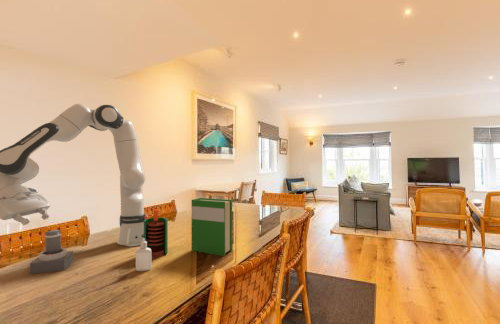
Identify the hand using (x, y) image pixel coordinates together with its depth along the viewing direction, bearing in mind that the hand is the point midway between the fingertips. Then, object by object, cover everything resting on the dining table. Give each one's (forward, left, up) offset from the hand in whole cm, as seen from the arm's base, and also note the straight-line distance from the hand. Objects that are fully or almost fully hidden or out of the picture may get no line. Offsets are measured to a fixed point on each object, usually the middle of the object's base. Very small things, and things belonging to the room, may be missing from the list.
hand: (37, 220), depth 106 cm
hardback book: (-70, +4, -19) cm, 72 cm away
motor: (-45, 0, -19) cm, 48 cm away
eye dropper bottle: (-41, +17, -19) cm, 48 cm away
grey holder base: (-6, +2, -18) cm, 19 cm away
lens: (-6, +2, -14) cm, 16 cm away
